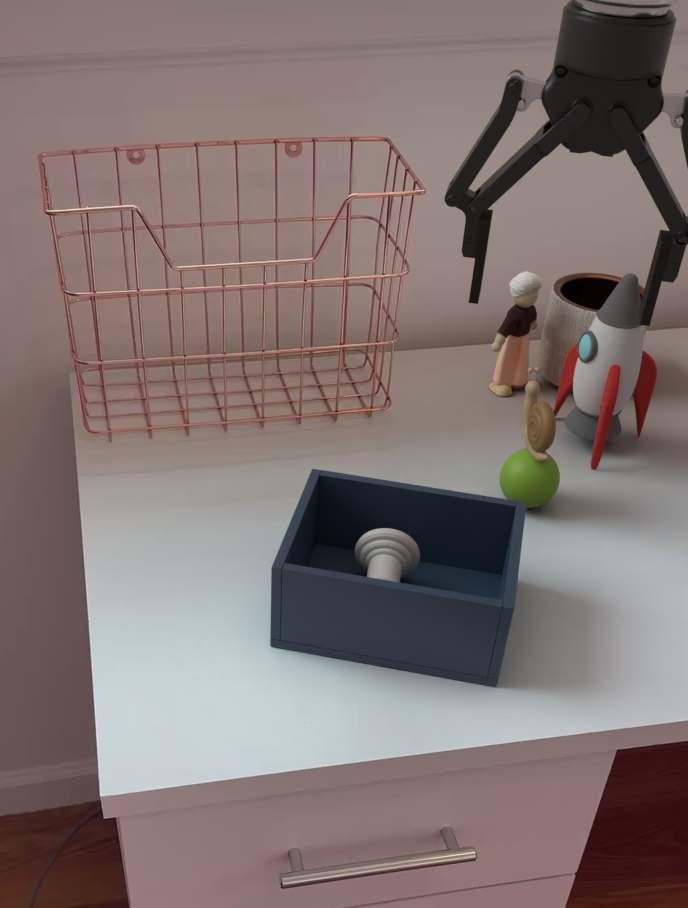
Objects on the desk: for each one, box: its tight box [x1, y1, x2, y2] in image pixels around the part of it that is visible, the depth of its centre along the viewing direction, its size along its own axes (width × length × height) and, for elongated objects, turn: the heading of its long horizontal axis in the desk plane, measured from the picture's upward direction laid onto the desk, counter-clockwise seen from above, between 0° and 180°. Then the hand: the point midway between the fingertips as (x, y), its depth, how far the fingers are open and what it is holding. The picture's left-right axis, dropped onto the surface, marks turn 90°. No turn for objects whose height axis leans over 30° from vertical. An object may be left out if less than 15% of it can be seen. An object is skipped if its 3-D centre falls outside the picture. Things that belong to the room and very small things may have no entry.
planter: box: [535, 272, 648, 394], centre depth 112 cm, size 11×11×10 cm
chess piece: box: [355, 528, 420, 582], centre depth 81 cm, size 5×5×9 cm
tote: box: [269, 468, 527, 688], centre depth 81 cm, size 18×14×8 cm
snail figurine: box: [499, 366, 561, 509], centre depth 92 cm, size 5×6×12 cm
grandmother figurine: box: [488, 270, 543, 397], centre depth 109 cm, size 8×4×13 cm, turn 150°
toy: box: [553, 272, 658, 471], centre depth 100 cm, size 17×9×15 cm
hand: (558, 308), depth 83 cm, fingers open, 13 cm apart
